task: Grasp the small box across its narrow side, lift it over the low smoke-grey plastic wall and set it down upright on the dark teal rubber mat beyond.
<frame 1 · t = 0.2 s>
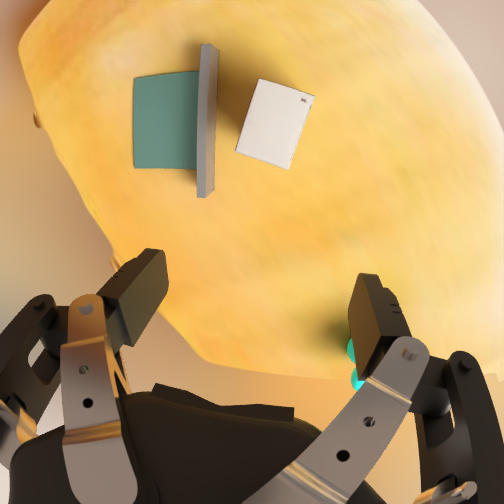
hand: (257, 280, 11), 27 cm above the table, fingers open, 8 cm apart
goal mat: (167, 120, 34), on the table
donuts: (371, 340, 47), on the table
small box: (279, 122, 33), on the table
divider wall: (211, 119, 34), on the table
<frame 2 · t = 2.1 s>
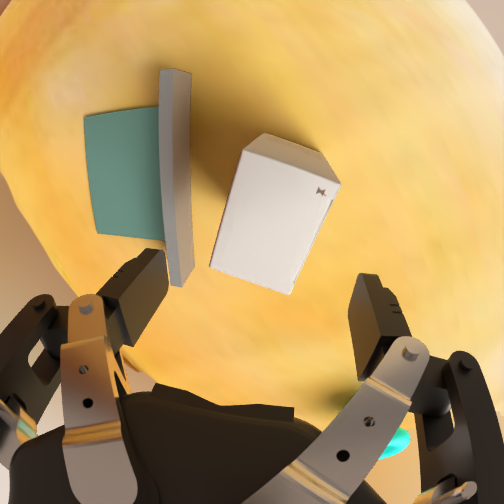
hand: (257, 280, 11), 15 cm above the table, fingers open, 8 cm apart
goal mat: (128, 175, 26), on the table
donuts: (375, 403, 39), on the table
small box: (279, 181, 25), on the table
divider wall: (184, 176, 25), on the table
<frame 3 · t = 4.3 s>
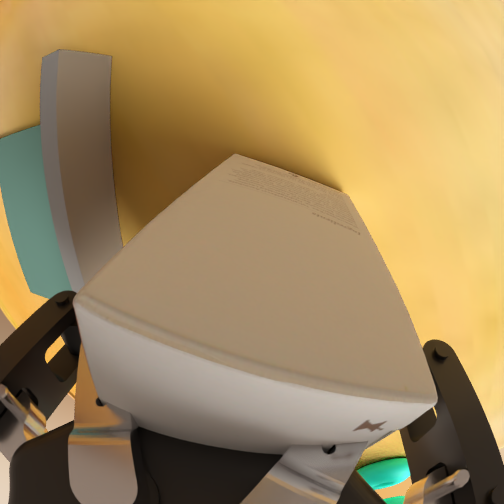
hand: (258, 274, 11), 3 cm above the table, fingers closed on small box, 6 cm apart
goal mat: (46, 223, 16), on the table
donuts: (382, 465, 29), on the table
small box: (266, 243, 14), on the table, touching gripper
divider wall: (112, 229, 15), on the table
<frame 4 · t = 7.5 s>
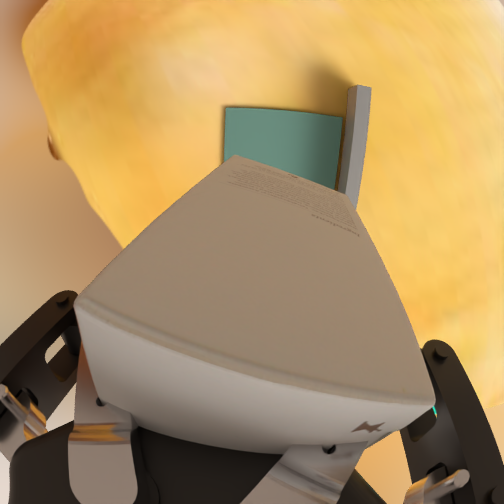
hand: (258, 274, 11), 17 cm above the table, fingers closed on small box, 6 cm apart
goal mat: (279, 180, 27), on the table
small box: (265, 244, 14), point 14 cm above the table, touching gripper
divider wall: (343, 187, 26), on the table
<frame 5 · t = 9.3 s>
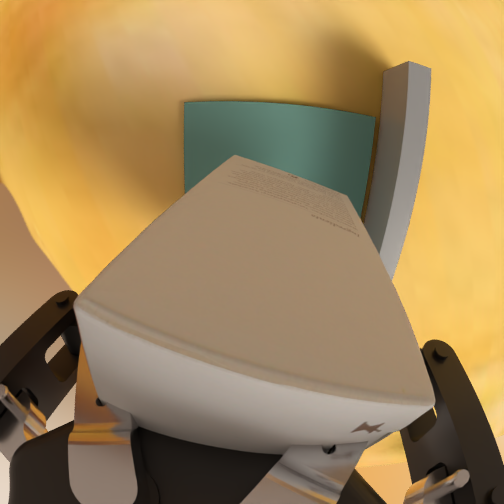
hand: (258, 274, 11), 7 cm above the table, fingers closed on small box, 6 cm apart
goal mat: (271, 216, 17), on the table
small box: (265, 244, 14), point 4 cm above the table, touching gripper
divider wall: (371, 228, 17), on the table
when the fingers open (4 cm above the table, at t = 10.9 s): small box stays where it is, resting on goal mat.
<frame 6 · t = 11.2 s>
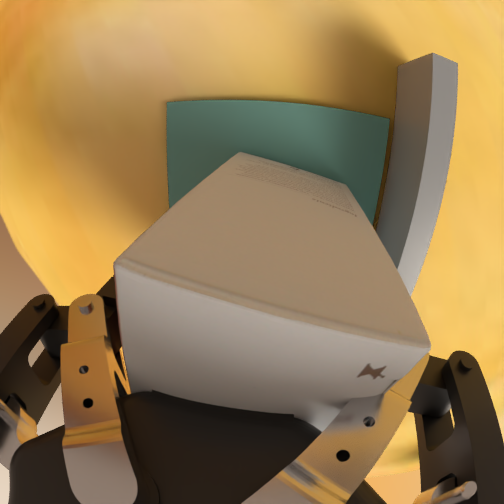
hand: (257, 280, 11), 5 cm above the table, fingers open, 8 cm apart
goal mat: (268, 233, 15), on the table
small box: (272, 235, 15), resting on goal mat
divider wall: (381, 246, 14), on the table
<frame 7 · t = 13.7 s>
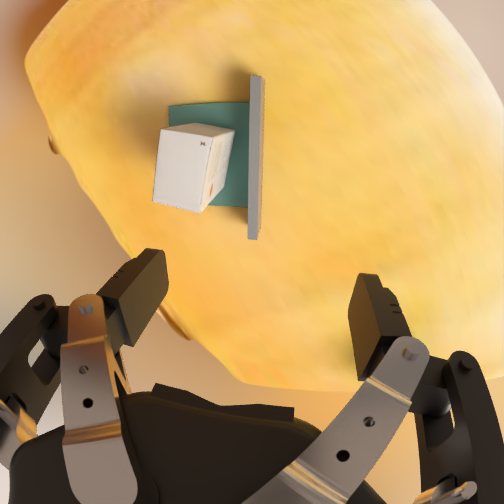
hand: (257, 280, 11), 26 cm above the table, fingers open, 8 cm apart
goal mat: (209, 154, 35), on the table
small box: (210, 154, 35), resting on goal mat
divider wall: (258, 155, 34), on the table
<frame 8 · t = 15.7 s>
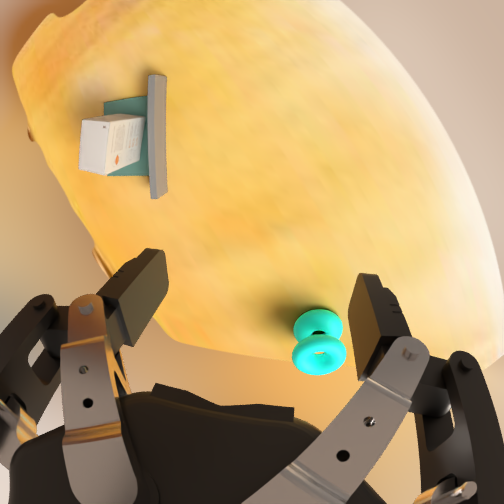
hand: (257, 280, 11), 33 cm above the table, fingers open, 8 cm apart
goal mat: (129, 136, 41), on the table
donuts: (317, 324, 54), on the table
small box: (130, 136, 41), resting on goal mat
divider wall: (162, 134, 41), on the table
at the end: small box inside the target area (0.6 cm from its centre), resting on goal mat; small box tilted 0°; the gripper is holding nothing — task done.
